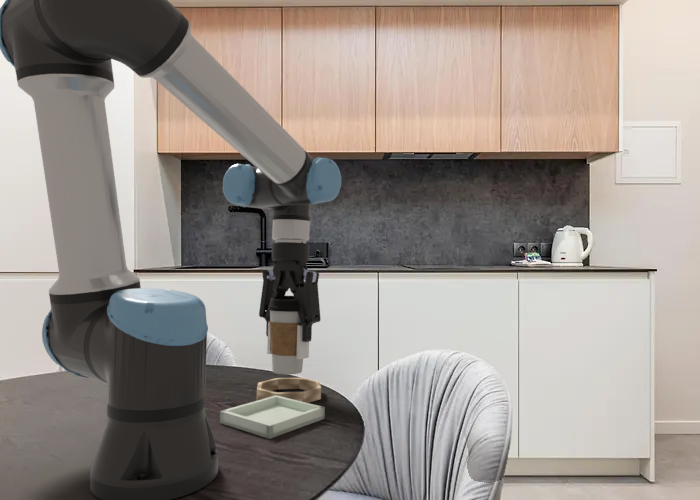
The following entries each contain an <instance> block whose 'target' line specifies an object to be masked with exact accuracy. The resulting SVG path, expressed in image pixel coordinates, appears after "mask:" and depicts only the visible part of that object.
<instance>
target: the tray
mask: <svg viewBox="0 0 700 500" xmlns="http://www.w3.org/2000/svg"><path fill="white" fill-rule="evenodd" d="M325 411H326V410H325V406H322V405H317V404H313V403H311V402H310V403H306V402H302V401H297V400H293V399H289V398H285V397H281V396H277V395H275V396H272V397H268V398H265V399H261V400H258V401H257V400H255V401H250V402H247V403H244V404H240V405H237V406H233V407H229V408H227V409H226V408H225V409H222V410H220V411H219V424H222V425H224V426H228V427H231V428H234V429H236V430H241V431H243V432H247V433H250V434H253V435H256V436H259V437H262V438H265V439H269V440H270V439H274V438H276V437H279V436H282V435H284V434H287V433H289V432H292V431H295V430H297V429H300V428H303V427H306V426H308V425H311V424H314V423H317V422H319V421H322V420H324V419H325V417H326V416H325V414H326V413H325Z"/></svg>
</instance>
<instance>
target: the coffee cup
mask: <svg viewBox="0 0 700 500" xmlns="http://www.w3.org/2000/svg"><path fill="white" fill-rule="evenodd" d="M268 310H270V321H269V323H270V338H271V353H272V354H271V366H272V367H271V368H272V370H271V371H272V373H274V374H276V375H277V374H278V375H287V376H288V375H298V374H300V373H302V372H303V364H304V359H296V358H297V325H299V324H298V323H301V322H300V318H299V314H298V312H299V305H298V300H295V299H294V295H285V297H284V300H277V299H275V298H271V301H270V305H269V308H268Z"/></svg>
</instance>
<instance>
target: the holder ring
mask: <svg viewBox="0 0 700 500" xmlns="http://www.w3.org/2000/svg"><path fill="white" fill-rule="evenodd" d="M277 390H302V391H291V392H290V391H288V392H287V391H286V392H285V391H284V392H283V391H282V392H280V391H279V392H277ZM275 395H277V396H281V397H285V398H289V399H293V400H297V401H302V402H306V403H310V404H311V403H313V402H315V401H318V400H321V399H322V386H321V383H320V381H319V380H314V379H309V378H304V377H276V378H271V379H268V380H264V381H260V382H257V387H256V401H258V400H261V399H265V398H268V397H272V396H275Z"/></svg>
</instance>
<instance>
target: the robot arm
mask: <svg viewBox="0 0 700 500" xmlns="http://www.w3.org/2000/svg"><path fill="white" fill-rule="evenodd" d="M191 28H192V27H191V23H190V21H189V20H188V18H186V16H184V14H182V13H181V12H180V11H179V9H177V8H176V7H175V6H174V5H173V4H172V2H170V1H169V0H5V1H4V3H3V4H2V5H1V6H0V51H1V53H2V55H3V57H4V59H5V60H6V61H7V62H9V63H10V64H11V66H13V67H14V69H15V75H16V81H17V86H18V87H19V89H21V90H22V91H23V92H25V93H26V94H27V95H28V96H30V98H31V99H32V101H33V103H34V104H33V105H34V112H35V119H36V124H37V125H36V126H37V133H38V140H39V145H40V153H41V158H42V164H43V166H42V167H43V173H44V174H43V175H44V180H45V186H46V194H47V198H48V199H47V201H48V206H49V214H50V220H51V228H52V235H53V241H54V247H55V254H56V255H55V256H56V260H57V261H56V263H57V268H58V278H57V280H56V281H55V282H54V283H53V284H52V285H51V287H50V288H49V289H48V295H49V296H48V297H49V301H50V302H49V303H50V310H49V312H48V314H47V315H46V316H45V318H44V320H43V324H42V330H41V339H42V344H43V347H44V350H45V351H46V353H47V356H49V358H50V359H51V360H52V362H54V363H55V364H56V365H58V366H59V367H60V368H62V369H64V370H65V371H66V372H68V373H71V374H73V375H75V376H78V377H81V378H82V377H83V378H88V379H89V378H90V379H93V380H95V381H100V382H104V383H106V384H107V396H106V397H107V399H106V400H107V401H106V402H107V403H106V404H107V406H106V407H107V408H106V423H105V425H104V427H103V431H102V434H101V437H100V439H99V443H98V445H97V448H96V451H95V454H94V457H93V459H92V463H91V465H90V469H89V491H90V493H92V495H94V496H95V497H96V498H98V499H100V500H174V499H178V498H181V497H185V496H188V495H190V494H193V493H195V492H198V491H199V490H201V489H202V488H205V487H206V486H207V485H209V484H210V483H212V481H213V480H215V478H216V477H217V475H218V472H219V451H218V448H217V446H216V442H215V440H214V435H213V433H212V430H211V426H210V424H209V420H208V418H207V414H206V379H207V378H206V376H207V374H206V373H207V346H208V345H207V343H208V342H207V340H208V339H207V338H208V329H209V328H208V327H209V326H208V321H207V320H208V319H207V309H206V305H205V303H204V301H203V300H202V299H201V298H200V297H198V296H197V295H194V294H193V293H189V292H184V291H178V290H173V289H170V290H167V289H163V288H146V287H145V288H141V279H140V277H139V276H138V275H137V274H135V273H133V272H132V271H131V270H130V269H129V268H128V267H127V261H126V254H125V253H126V252H125V246H124V237H123V230H122V229H123V228H122V222H121V215H120V208H119V201H118V193H117V192H118V191H117V184H116V178H115V171H114V163H113V154H112V153H113V152H112V147H111V140H110V131H109V125H108V117H107V110H106V109H107V108H106V102H105V101H106V98H107V97H108V96H109V95H110V93H111V92H112V91H113V90H114V89H115V81H114V80H115V79H114V78H115V77H114V72H113V64H112V60H114V61H117V62H118V63H121V64H123V65H124V66H126V67H127V68H129V69H130V70H132V71H133V72H134V73H135V74H136V75H137V76H138V77H140V78H143V79H144V78H153V80H155V81H156V82H157V83H159V85H161V86H162V87H163V88H165V90H166V91H168V92H169V93H170V94H171V95H172V96H173V97H174V98H175V99H177V101H179V102H180V103H182V104H183V105H184V106H185V107H186V108H187V109H188V110H190V112H192V113H193V114H194V115H195V116H196V117H197V118H199V120H201V121H202V122H203V123H205V124H206V125H207V126H208V127H209V128H210V129H212V130H213V132H215V133H216V134H217V135H218V136H220V137H221V138H222V139H223V140H225V142H226V143H227V144H229V145H230V146H231V147H232V148H233V149H234V150H236V151H237V152H238V153H239V154H240V155H241V156H242V157H244V158H245V160H247V161H248V162H250V163H251V164H248V163H247V164H242V163H236V164H233V165H231V166H230V167H228V169H227V170H226V172H225V174H224V176H223V178H222V179H223V180H222V192H223V195H224V198H225V200H227V202H229V203H230V204H232V205H237V206H240V207H242V208H254V209H263V210H269V211H272V230H271V231H272V234H271V235H272V236H271V239H272V240H273V241H274V242H272V244H271V260H272V261H273V262H274V265H273V267H272V269H267V270H266V269H264V270H262V280H263V281H262V288H261V289H262V290H261V294H260V295H261V297H260V304H259V312H258V316H259V317H260V318H263V319H264V320H265V322H266V326H265V327H266V332H265V333H266V334H265V335H266V337H267V347H266V349H267V352H266V353H267V354H268V355H272V353H271V338H270V323H269V321H270V310H268V308H269V305H270V301H271V298H275V299H277V300H284V297H285V296H286V292H288V291H289V290H290V293H292V296H294V299H295V300H298V305H299V312H298V314H299V318H300V322H301V323H298V324H299V325H297V358H296V359H303V360H304V359H309V358H310V355H309V354H310V342H311V341H312V336H313V335H312V331H313V330H312V327H313V325H314V324H316V323H319V322H321V307H320V298H319V296H320V295H319V278H320V277H319V276H320V272H319V271H311V270H309V269H308V266H307V262H309V260H310V245H309V243H307V242H308V241H310V227H311V225H310V223H311V221H310V220H311V217H310V215H311V205H318V204H322V203H328V202H332V201H334V200H335V199H336V198H337V196H338V195H339V193H340V191H341V190H340V189H341V187H342V173H341V171H340V169H339V166H338V165H337V163H336V162H335V161H334V160H333V159H331V158H328V157H320V156H319V157H316V158H313V156H311V155H310V154H309V153H308V152H307V151H306V150H305V149H304V148H303V147H302V146H301V145H300V144H299V143H298V141H297V140H296V139H294V137H293V136H292V135H291V134H290V133H289V132H287V130H286V129H285V128H284V127H283V126H282V125H281V124H280V123H279V122H278V120H276V119H275V118H274V117H273V116H272V115H271V114H270V113H269V112H268V111H267V110H266V109H265V108H264V107H263V106H262V105H261V104H260V103H259V102H258V101H257V100H256V99H255V98H254V97H253V96H252V95H251V94H250V92H248V90H246V89H245V87H243V85H242V84H240V83H239V81H238V80H236V78H235V77H234V76H233V75H232V74H231V73H229V72H228V70H226V68H225V67H223V65H221V63H220V62H219V61H218V60H217V59H216V58H215V57H214V56H213V55H212V54H210V52H209V51H208V50H207V49H206V48H205V47H204V46H203V45H202V44H201V43H200V42H199V41H198V40H197V39H196V38H195V37H194V36H193V35H192V29H191ZM252 165H253V166H252Z"/></svg>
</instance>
